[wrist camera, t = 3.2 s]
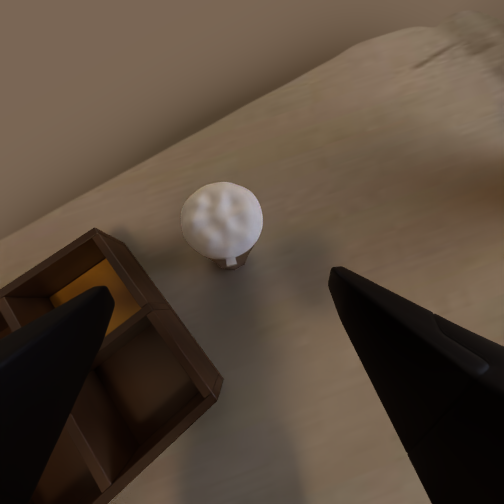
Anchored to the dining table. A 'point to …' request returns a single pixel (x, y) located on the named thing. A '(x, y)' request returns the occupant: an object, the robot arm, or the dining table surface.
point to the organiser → (114, 371)
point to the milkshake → (222, 223)
